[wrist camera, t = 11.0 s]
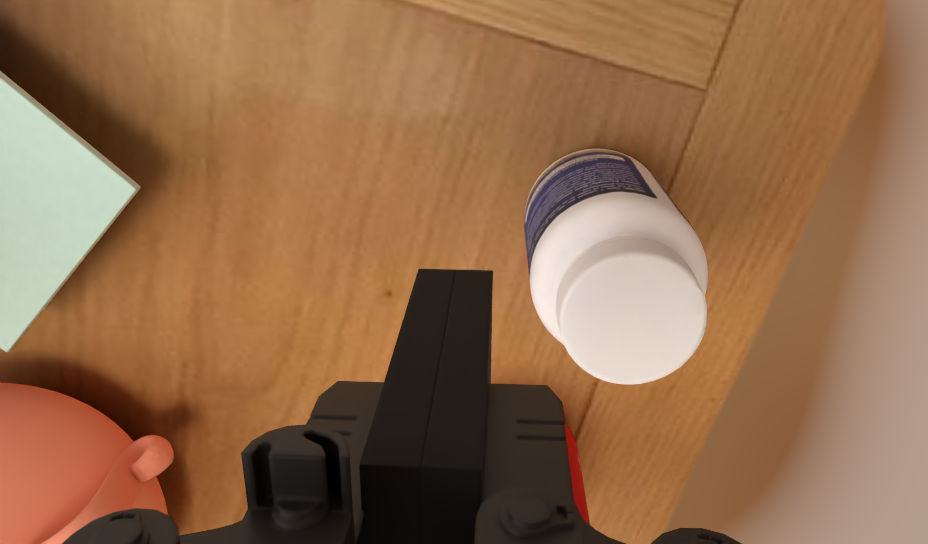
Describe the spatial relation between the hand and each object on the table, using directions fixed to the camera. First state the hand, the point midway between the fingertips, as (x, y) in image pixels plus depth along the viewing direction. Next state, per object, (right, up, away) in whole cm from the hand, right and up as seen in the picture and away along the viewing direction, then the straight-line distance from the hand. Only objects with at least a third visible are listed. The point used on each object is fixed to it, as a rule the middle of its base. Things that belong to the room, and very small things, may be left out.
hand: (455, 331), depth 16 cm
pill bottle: (+5, +4, +14) cm, 15 cm away
